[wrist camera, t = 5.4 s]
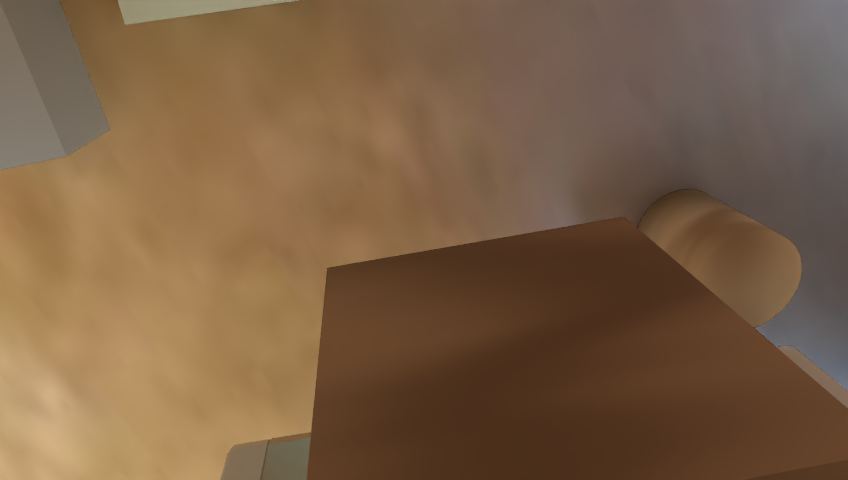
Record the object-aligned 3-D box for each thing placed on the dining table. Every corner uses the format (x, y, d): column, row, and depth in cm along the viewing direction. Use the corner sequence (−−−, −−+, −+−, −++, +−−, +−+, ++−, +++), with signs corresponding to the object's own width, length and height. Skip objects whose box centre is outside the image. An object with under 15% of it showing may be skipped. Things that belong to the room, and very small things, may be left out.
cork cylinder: (725, 182, 26) (808, 223, 22) (719, 265, 28) (795, 320, 23) (635, 197, 26) (700, 242, 21) (634, 281, 27) (695, 339, 23)
